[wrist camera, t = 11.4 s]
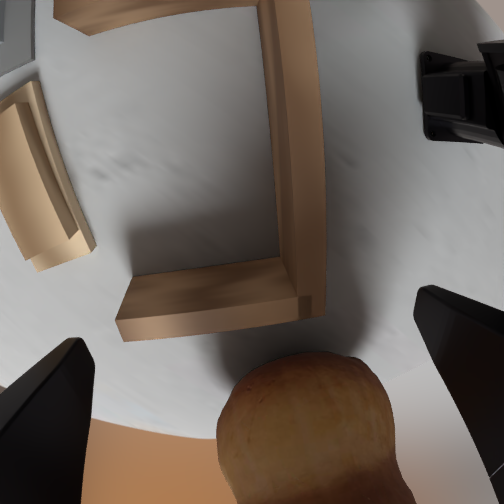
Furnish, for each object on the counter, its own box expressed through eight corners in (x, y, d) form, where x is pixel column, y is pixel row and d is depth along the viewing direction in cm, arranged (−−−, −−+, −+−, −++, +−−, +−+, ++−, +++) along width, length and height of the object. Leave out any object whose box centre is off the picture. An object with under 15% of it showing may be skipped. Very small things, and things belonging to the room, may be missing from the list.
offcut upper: (28, 102, 14) (14, 103, 12) (78, 229, 18) (69, 239, 16) (-13, 133, 14) (-27, 136, 13) (36, 250, 18) (25, 260, 16)
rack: (280, -16, 14) (300, -50, 9) (303, 273, 22) (325, 315, 18) (88, 14, 13) (54, -8, 9) (138, 296, 22) (123, 341, 17)
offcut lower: (44, 81, 15) (31, 80, 13) (99, 241, 20) (91, 252, 19) (-7, 115, 15) (-21, 117, 13) (47, 261, 20) (37, 272, 19)
